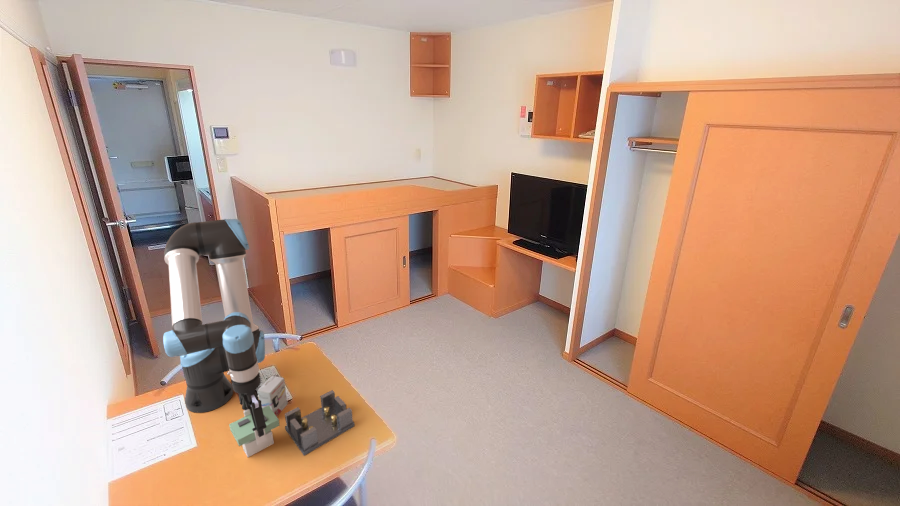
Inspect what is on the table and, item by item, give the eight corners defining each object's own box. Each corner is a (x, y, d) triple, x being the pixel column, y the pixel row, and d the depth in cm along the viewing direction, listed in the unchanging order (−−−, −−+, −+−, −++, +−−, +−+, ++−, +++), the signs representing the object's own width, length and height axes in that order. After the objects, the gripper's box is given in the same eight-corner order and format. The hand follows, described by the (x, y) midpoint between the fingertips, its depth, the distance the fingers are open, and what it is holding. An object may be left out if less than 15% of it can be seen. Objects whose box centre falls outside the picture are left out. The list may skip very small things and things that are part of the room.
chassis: (285, 430, 134) (282, 413, 131) (334, 404, 146) (332, 388, 143) (304, 455, 125) (301, 438, 122) (354, 426, 136) (353, 410, 134)
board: (230, 430, 124) (228, 422, 123) (269, 411, 132) (268, 403, 130) (239, 446, 119) (237, 438, 117) (279, 425, 126) (278, 418, 125)
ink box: (274, 420, 137) (269, 393, 133) (261, 418, 138) (256, 391, 134) (288, 403, 145) (284, 377, 141) (276, 401, 146) (272, 374, 142)
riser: (243, 449, 126) (240, 437, 124) (269, 436, 131) (267, 424, 129) (247, 457, 123) (245, 445, 122) (273, 443, 129) (271, 431, 127)
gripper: (220, 363, 122) (232, 420, 130) (244, 400, 108) (256, 461, 117) (246, 353, 126) (256, 408, 135) (272, 388, 113) (281, 447, 122)
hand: (256, 433), depth 126 cm, fingers closed on board, 8 cm apart
